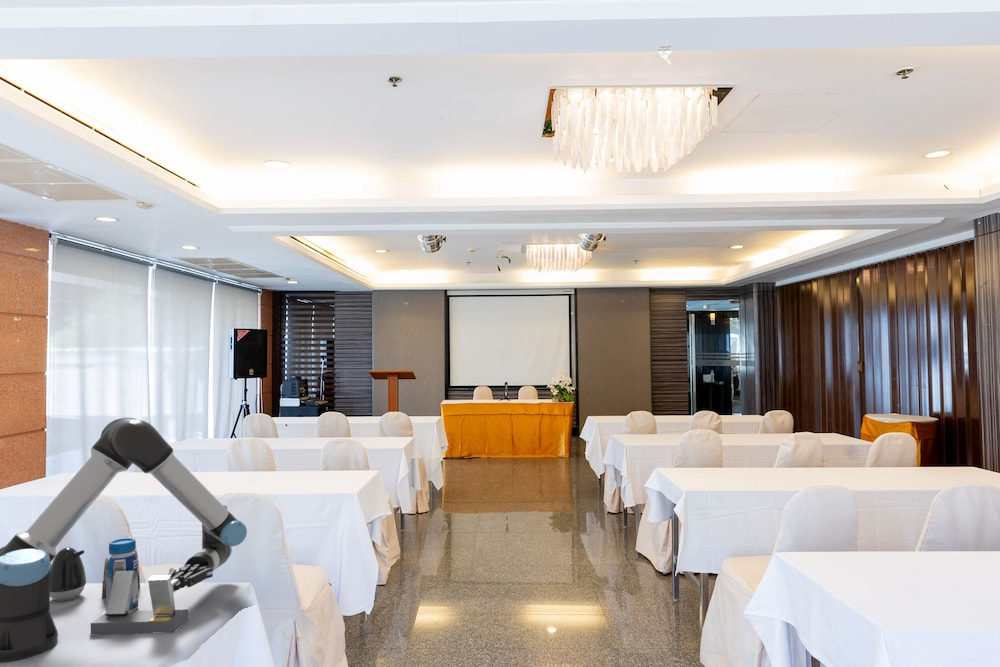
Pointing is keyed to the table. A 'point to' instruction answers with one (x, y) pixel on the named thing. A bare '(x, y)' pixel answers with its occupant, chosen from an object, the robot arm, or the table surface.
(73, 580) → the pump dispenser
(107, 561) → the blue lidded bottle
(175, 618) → the switch base
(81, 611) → the table surface
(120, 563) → the beverage bottle
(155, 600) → the right lever
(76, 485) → the robot arm
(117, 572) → the left lever
